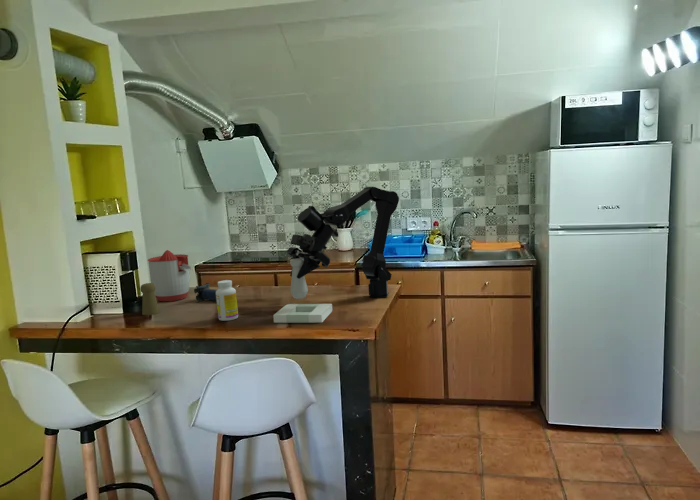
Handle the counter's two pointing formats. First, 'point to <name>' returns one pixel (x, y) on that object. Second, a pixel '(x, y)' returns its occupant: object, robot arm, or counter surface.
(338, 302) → the counter surface
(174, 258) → the citrus juicer
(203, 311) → the counter surface
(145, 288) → the cork
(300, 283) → the grey pestle
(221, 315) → the supplement bottle
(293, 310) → the square frame holder
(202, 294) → the dark blue irregular lump
